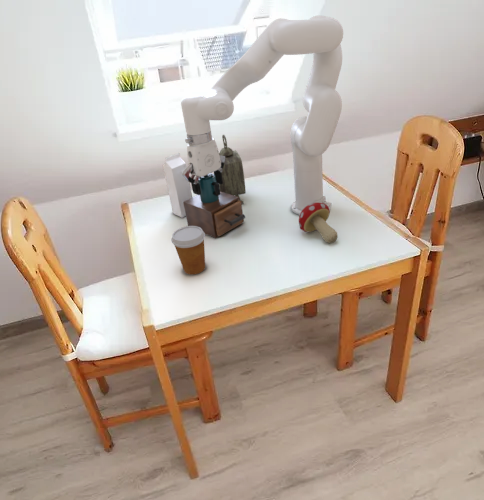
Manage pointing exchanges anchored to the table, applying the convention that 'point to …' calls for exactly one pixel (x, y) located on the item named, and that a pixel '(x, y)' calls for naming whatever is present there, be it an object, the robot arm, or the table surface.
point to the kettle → (209, 188)
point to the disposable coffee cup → (190, 248)
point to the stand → (206, 212)
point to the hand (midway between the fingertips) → (208, 188)
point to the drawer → (228, 217)
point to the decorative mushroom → (317, 221)
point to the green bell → (232, 172)
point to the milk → (177, 183)
